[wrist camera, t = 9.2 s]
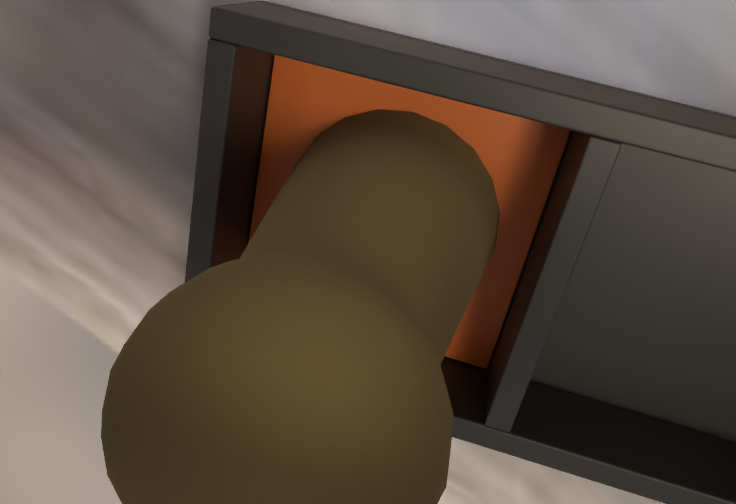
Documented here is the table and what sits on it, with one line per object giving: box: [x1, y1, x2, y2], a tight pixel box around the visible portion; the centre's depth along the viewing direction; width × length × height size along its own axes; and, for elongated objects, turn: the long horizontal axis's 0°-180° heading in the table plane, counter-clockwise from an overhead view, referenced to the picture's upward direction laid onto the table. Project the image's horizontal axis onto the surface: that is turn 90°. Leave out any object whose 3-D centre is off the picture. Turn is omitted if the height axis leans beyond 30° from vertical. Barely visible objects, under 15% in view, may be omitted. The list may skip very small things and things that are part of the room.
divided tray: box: [185, 1, 736, 504], centre depth 17 cm, size 9×18×3 cm, turn 78°
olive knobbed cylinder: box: [101, 109, 500, 504], centre depth 13 cm, size 6×6×11 cm
